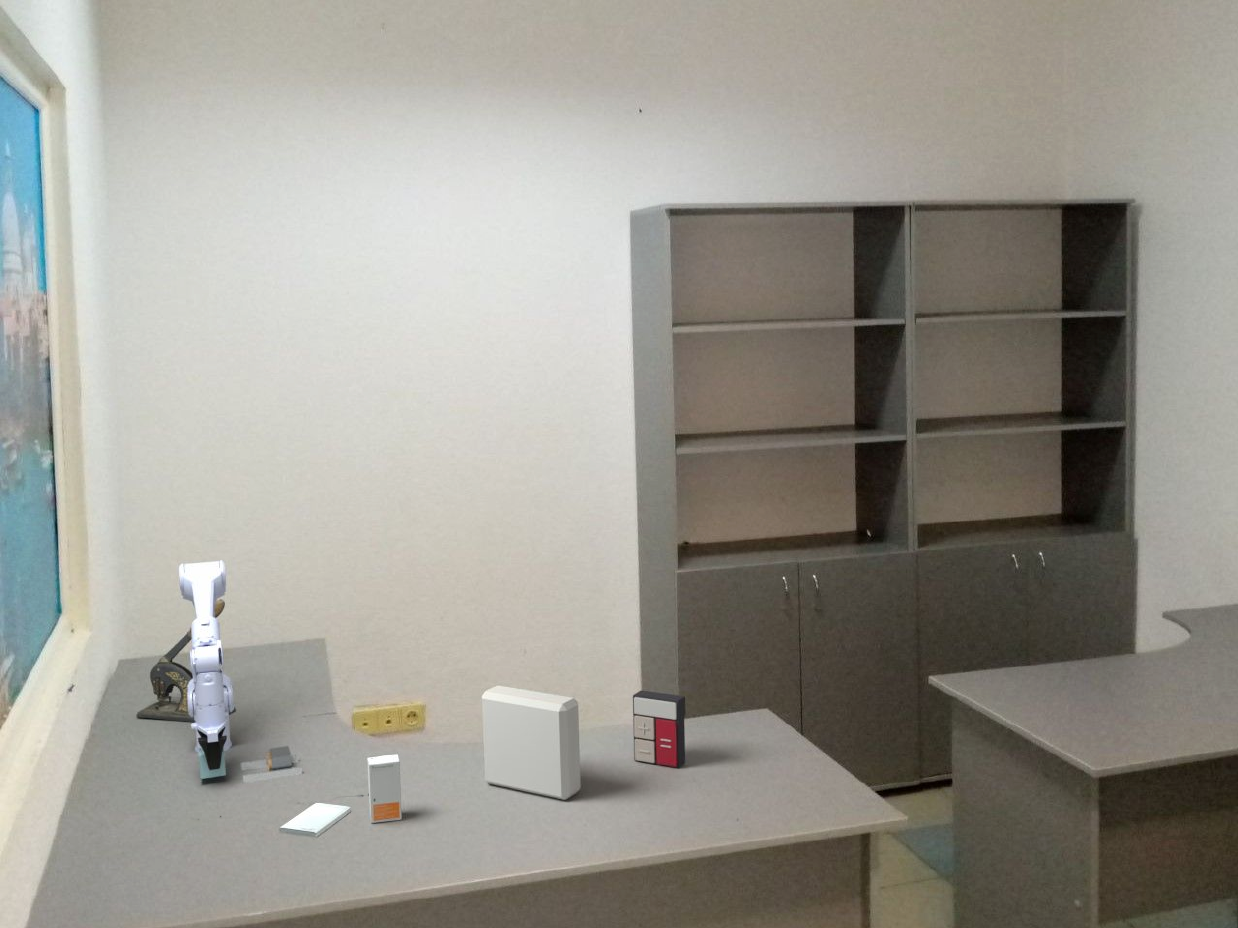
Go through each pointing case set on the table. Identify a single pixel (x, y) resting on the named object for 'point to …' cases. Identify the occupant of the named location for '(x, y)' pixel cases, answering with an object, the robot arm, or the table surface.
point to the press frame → (268, 774)
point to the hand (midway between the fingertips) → (214, 764)
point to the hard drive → (315, 820)
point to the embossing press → (173, 683)
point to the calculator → (659, 728)
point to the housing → (205, 770)
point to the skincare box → (384, 788)
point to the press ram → (279, 758)
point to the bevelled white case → (531, 741)
